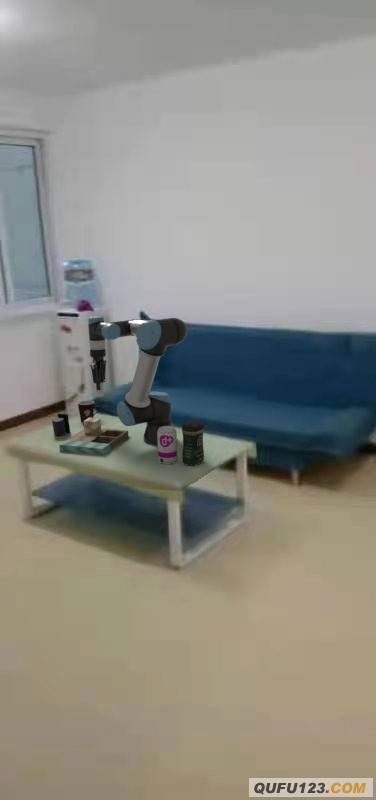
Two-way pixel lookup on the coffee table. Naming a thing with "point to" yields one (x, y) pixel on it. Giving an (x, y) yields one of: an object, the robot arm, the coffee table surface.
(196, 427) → the coffee jar
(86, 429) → the birch block
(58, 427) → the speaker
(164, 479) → the coffee table surface
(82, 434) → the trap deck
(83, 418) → the coffee mug
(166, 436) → the supplement can
